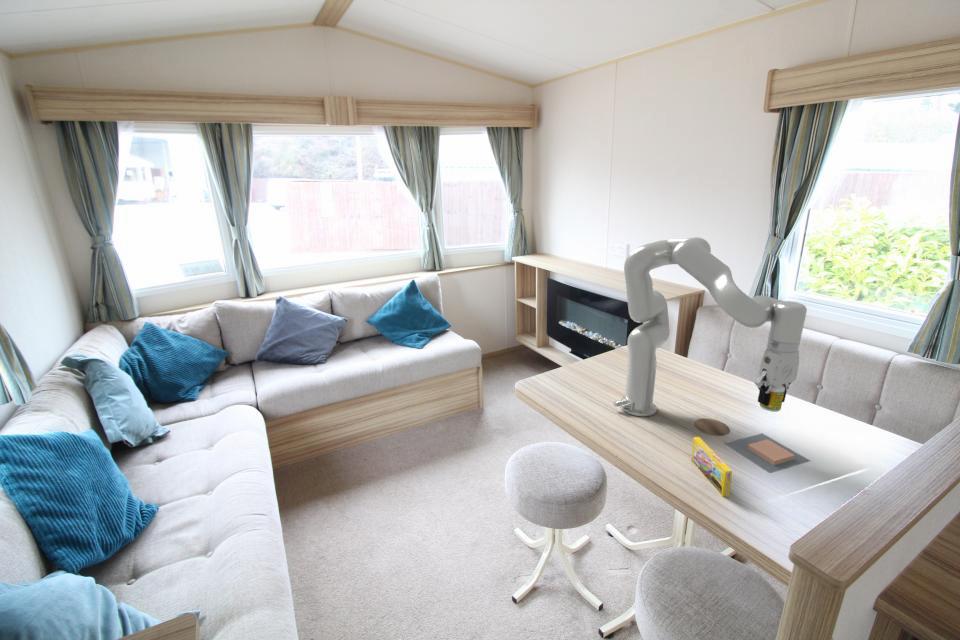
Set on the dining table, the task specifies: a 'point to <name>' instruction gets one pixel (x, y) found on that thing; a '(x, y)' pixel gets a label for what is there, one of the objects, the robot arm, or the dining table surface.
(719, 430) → the walnut coaster
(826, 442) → the dining table surface
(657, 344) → the robot arm
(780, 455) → the terracotta tile
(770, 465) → the slate mat
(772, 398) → the supplement bottle
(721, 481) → the candy box
